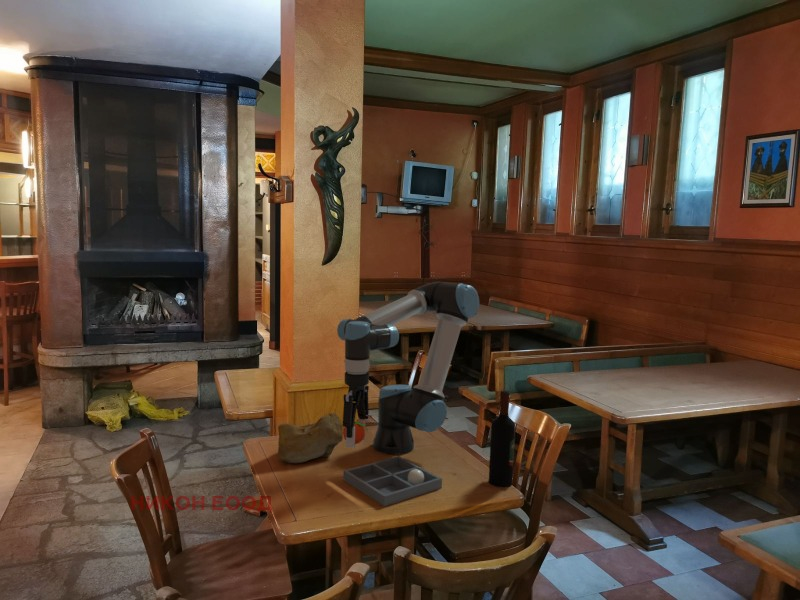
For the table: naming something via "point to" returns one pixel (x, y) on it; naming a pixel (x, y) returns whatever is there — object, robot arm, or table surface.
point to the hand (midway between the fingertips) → (355, 442)
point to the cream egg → (415, 477)
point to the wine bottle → (502, 446)
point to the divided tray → (390, 480)
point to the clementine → (357, 432)
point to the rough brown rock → (309, 439)
